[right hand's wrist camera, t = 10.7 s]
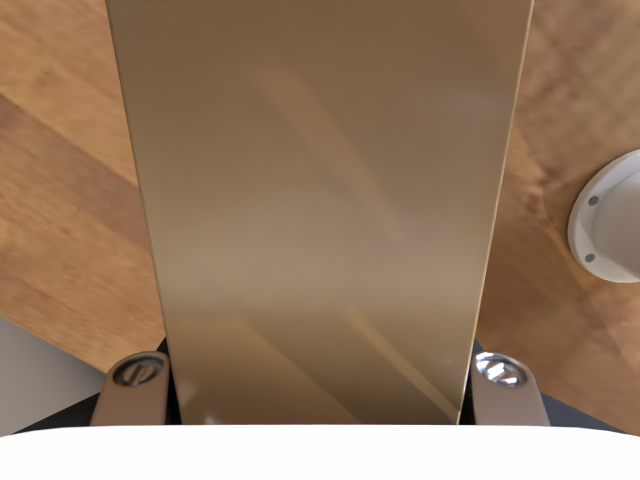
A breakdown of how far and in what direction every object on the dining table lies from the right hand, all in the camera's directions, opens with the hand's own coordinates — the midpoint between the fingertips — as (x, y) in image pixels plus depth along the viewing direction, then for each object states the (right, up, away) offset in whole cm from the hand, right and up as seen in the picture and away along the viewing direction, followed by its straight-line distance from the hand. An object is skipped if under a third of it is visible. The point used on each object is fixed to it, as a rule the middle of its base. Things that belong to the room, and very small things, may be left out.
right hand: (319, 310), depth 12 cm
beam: (0, +20, -4) cm, 20 cm away
